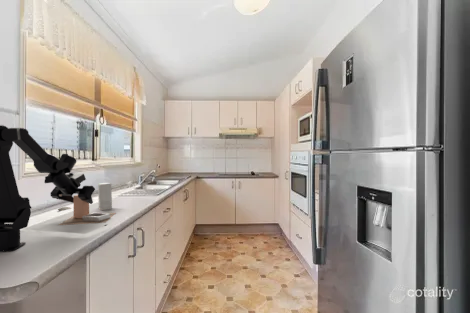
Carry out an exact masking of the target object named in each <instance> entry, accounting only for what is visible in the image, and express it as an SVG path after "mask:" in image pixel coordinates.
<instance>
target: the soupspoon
mask: <svg viewBox="0 0 470 313" xmlns="http://www.w3.org/2000/svg"><path fill="white" fill-rule="evenodd" d="M71 209H72V208H71V206H70V207H69V206H62V207H60V208H58V209H57V210H58V211H60V212H63V211H67V210H71Z"/></svg>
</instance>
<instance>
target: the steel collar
mask: <svg viewBox="0 0 470 313" xmlns="http://www.w3.org/2000/svg"><path fill="white" fill-rule="evenodd" d="M110 213H111V212H92V213H89V214H88V215H85V216H82V221H94V222H100V221H103V220H105V219H108V218H110ZM110 219H111V218H110Z"/></svg>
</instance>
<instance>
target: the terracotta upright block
mask: <svg viewBox="0 0 470 313" xmlns="http://www.w3.org/2000/svg"><path fill="white" fill-rule="evenodd" d="M73 198H74V203H73V216H74V218H82V216H85V215H88V214H90V203H87V202H85V201H82V200H81V199H80V198H79V197H78V194H75V195H74V194H73Z"/></svg>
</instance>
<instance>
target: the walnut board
mask: <svg viewBox="0 0 470 313" xmlns="http://www.w3.org/2000/svg"><path fill="white" fill-rule="evenodd" d="M109 213H110V218H108V219H105V220H103V221H100V222H94V221H82V218H74V215H73V216H70V217H68V218H67V219H65V220H64V221H62V222H60V223H58V226H66V225H83V224H84V225H85V224H86V225H87V224H102V223H103V224H104V223H107V222H108V221H109V220H111V218H113V217H114V215H116V214H117V212H109ZM106 226H107V224H105V225H103V227H106Z"/></svg>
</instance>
